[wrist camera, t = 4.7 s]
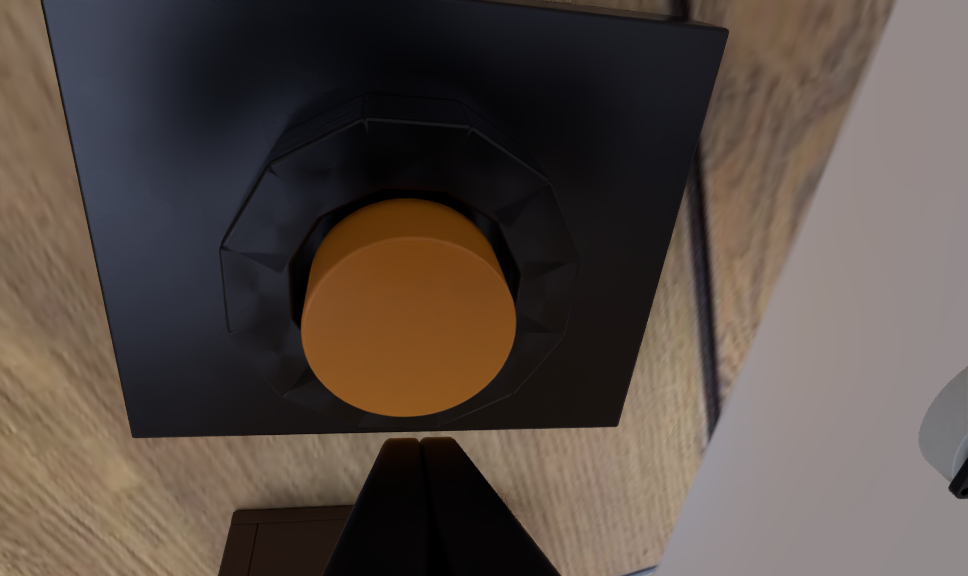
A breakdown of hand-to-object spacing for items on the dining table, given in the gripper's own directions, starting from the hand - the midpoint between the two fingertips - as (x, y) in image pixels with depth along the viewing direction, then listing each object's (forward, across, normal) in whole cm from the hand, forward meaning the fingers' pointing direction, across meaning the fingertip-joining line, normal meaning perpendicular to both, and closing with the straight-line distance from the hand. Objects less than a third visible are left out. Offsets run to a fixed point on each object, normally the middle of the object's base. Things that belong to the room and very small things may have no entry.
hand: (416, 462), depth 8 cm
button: (+5, 0, 0) cm, 5 cm away
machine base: (+8, 0, 0) cm, 8 cm away
